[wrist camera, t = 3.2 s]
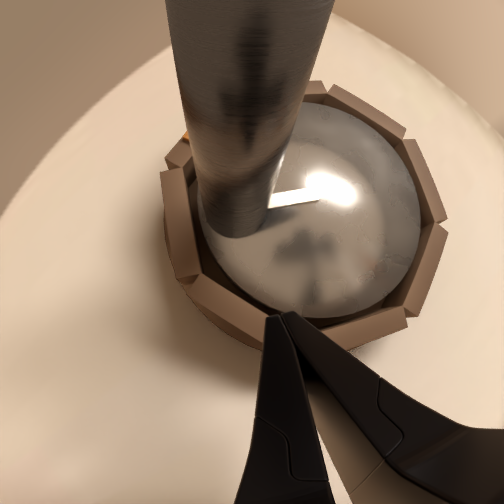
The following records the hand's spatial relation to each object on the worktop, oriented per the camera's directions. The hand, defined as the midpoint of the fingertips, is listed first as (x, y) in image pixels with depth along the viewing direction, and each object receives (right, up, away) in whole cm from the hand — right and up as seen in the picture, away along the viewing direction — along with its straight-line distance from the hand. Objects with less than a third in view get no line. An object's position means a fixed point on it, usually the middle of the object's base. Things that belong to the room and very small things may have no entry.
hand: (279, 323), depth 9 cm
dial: (+3, +5, +9) cm, 10 cm away
